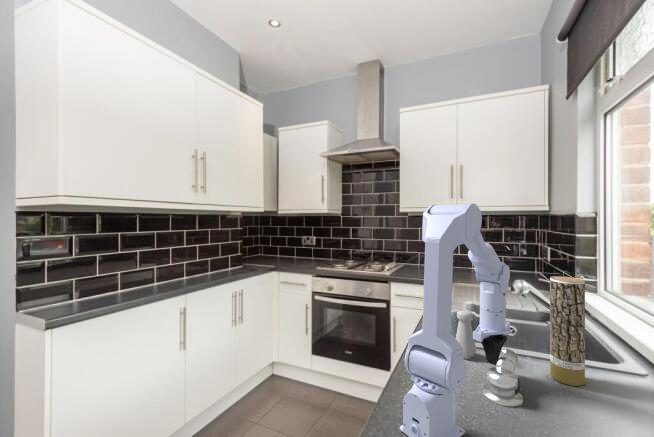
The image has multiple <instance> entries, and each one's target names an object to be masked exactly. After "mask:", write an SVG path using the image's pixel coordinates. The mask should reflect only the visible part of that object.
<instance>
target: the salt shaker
mask: <svg viewBox="0 0 654 437" xmlns="http://www.w3.org/2000/svg"><path fill="white" fill-rule="evenodd" d="M473 315H474V314H473V313H472V312H471V311H469V310H463V309H462V310H459V311H457V312H456V317H457V320H458V323H457V330H456V335H455V339H456V340H457V341H458V342H459V343H460V344H461V346H462V347H463V357H464V360H472V359H473V357H474V356H475V354H476V352H477V347H476V342H475V341H476V340H474V339H473V331H474V330H473V326H472V321H473V320H474V316H473Z"/></svg>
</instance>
